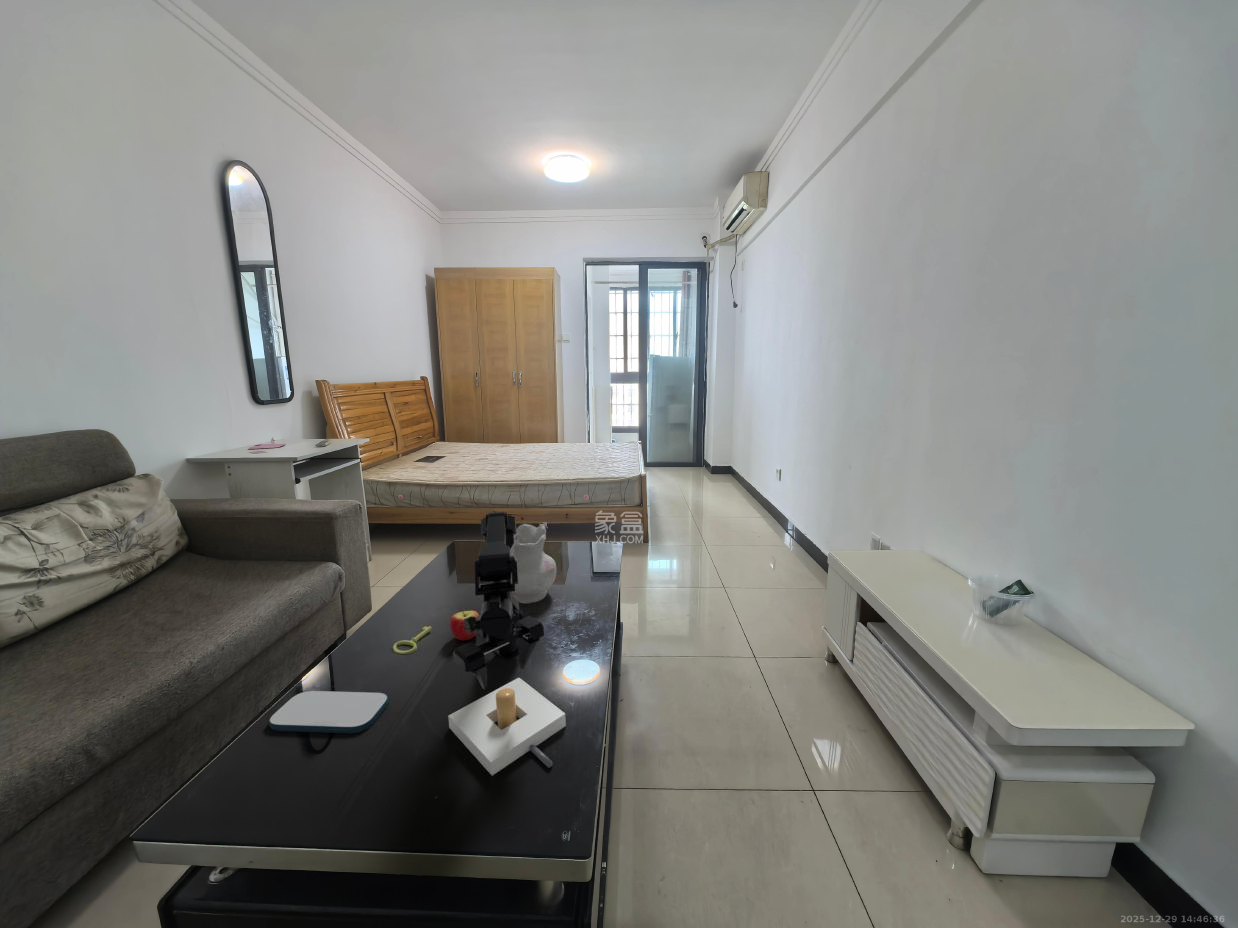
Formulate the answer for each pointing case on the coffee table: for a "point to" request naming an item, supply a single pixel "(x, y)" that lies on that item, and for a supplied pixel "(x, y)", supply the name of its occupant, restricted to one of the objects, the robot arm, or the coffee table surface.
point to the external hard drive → (329, 712)
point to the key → (411, 642)
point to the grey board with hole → (514, 740)
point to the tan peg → (506, 707)
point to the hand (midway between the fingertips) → (503, 677)
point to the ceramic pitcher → (532, 564)
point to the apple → (461, 624)
